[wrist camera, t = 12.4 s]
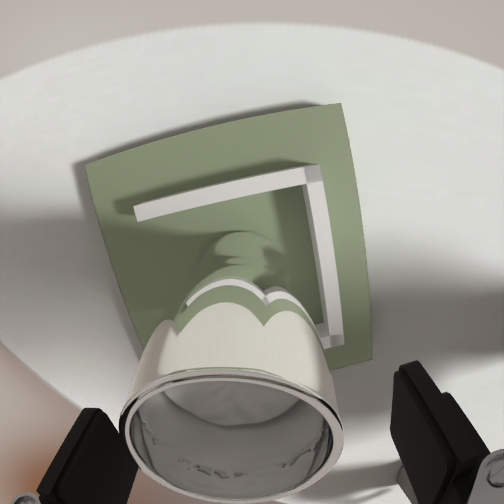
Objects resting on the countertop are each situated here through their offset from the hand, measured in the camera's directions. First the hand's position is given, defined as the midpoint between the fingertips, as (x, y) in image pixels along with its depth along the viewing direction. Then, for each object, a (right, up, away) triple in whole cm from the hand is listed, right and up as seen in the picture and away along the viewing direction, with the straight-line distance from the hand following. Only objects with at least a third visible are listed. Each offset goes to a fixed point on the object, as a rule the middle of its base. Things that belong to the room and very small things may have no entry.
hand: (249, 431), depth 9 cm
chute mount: (-1, +5, +15) cm, 16 cm away
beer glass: (-1, +4, +14) cm, 14 cm away
